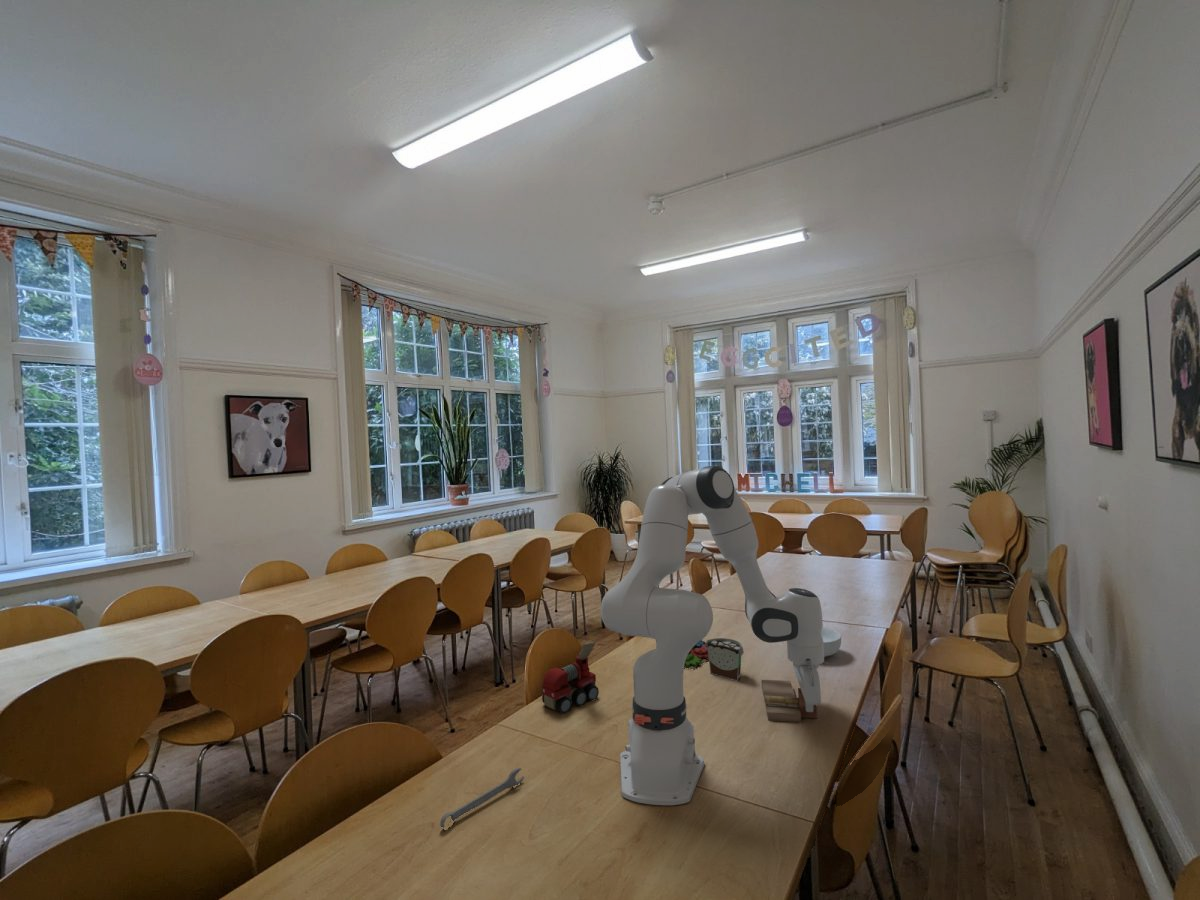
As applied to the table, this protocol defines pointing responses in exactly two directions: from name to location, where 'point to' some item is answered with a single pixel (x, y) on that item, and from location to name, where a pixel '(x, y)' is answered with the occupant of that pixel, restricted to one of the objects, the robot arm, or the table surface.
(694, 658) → the gear puzzle
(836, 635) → the cereal bowl
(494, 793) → the combination wrench
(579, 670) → the toy fire truck
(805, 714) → the toy wooden hammer
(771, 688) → the walnut board
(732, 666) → the food container
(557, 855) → the table surface
